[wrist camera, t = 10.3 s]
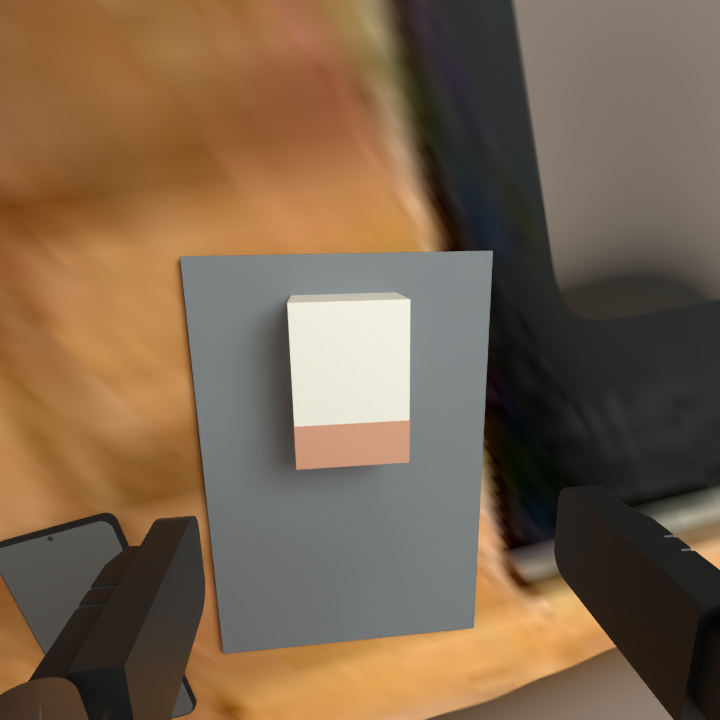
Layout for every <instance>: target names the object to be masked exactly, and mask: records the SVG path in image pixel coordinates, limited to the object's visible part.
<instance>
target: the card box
mask: <svg viewBox="0 0 720 720" xmlns="http://www.w3.org/2000/svg"><path fill="white" fill-rule="evenodd" d="M287 308H288V326H289V344H290V362H291V379H292V397H293V415H294V437H295V455H296V470H301V469H316V468H332V467H347V466H362V465H378V464H393V463H408V462H409V454H410V299H409V298H407V297H405V296H403V295H400V294H398V293H396V292H392V293H357V294H321V295H291V296H290V298H289V300H288V302H287Z"/></svg>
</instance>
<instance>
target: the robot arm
mask: <svg viewBox="0 0 720 720" xmlns="http://www.w3.org/2000/svg"><path fill="white" fill-rule="evenodd" d="M554 552H555V559H556V563H557V567H558V569H559V572H560V574H561V575H562V577H563V579H564V580H565V581H566V583H567V584H568V585H569V586H570V588H571V589H572V590H573V592H574V593H575V594H576V595H577V597H578V598H579V599H580V601H581V602H582V603H583V604H584V606H585V607H586V608H587V609H588V611H589V612H590V613H591V615H592V616H593V617H594V618H595V620H596V621H597V622H598V624H599V625H600V626H601V627H602V629H603V630H604V631H605V632H606V634H607V635H608V636H609V638H610V639H611V640H612V641H613V643H614V644H615V645H616V646H617V648H618V649H619V650H620V652H621V653H622V654H623V655H624V656H625V658H626V659H627V661H628V662H629V663H630V664H631V666H632V667H633V668H634V669H635V671H636V672H637V673H638V675H639V676H640V677H641V678H642V680H643V681H644V682H645V683H646V685H647V686H648V687H649V689H650V690H651V691H652V692H653V694H654V695H655V696H656V697H657V699H658V700H659V701H660V703H661V704H662V705H663V706H664V708H665V709H666V710H667V712H668V713H669V714H670V715H671V717H672V718H673V719H674V720H720V570H719V569H718V568H716V567H715V566H714V565H713V564H711V563H710V562H709V561H707V560H706V559H705V558H703V557H702V556H701V555H700V554H698V553H697V552H696V551H691V549H690V547H689V546H688V545H687V544H685V543H684V542H683V541H681V540H680V539H679V538H677V537H675V538H674V536H673V534H672V533H671V532H670V531H668V530H667V529H666V528H664V527H663V526H662V525H661V524H659V523H658V522H657V521H655V520H654V519H653V518H651V517H649V516H647V515H645V514H643V513H640V512H638V511H636V510H634V509H632V508H630V507H628V506H625V505H624V504H623V503H622V502H620V501H619V500H618V499H617V498H615V497H614V496H613V495H611V494H610V493H609V492H608V491H606V490H605V489H604V488H602V487H601V486H598V485H593V486H580V487H567V488H564V489H562V491H561V492H560V495H559V502H558V513H557V524H556V535H555V546H554ZM204 599H205V577H204V568H203V560H202V551H201V543H200V534H199V526H198V521H197V519H196V517H195V516H187V517H174V518H161V519H156V520H155V522H154V523H153V525H152V526H151V528H150V530H149V532H148V533H147V535H146V537H145V539H144V540H143V542H142V544H141V545H140V546H131V547H126V548H125V549H124V550H123V551H122V552H120V553H119V554H118V555H117V556H115V557H114V558H113V559H112V560H111V561H109V562H108V563H107V564H106V565H105V566H104V567H103V569H102V570H101V572H100V573H99V575H98V576H97V578H96V579H95V581H94V582H93V584H92V585H91V590H90V591H87V593H86V594H85V596H84V598H83V599H82V601H81V602H80V604H79V608H78V609H76V610H75V611H74V613H73V614H72V616H71V617H70V619H69V620H68V622H67V623H66V625H65V626H64V628H63V629H62V631H61V632H60V634H59V636H58V637H57V639H56V640H55V642H54V643H53V645H52V646H51V648H50V649H49V651H48V652H47V654H46V655H45V657H44V658H43V660H42V661H41V663H40V664H39V666H38V667H37V669H36V670H35V672H34V674H33V675H32V677H31V678H30V680H29V681H28V682H26V683H23V684H21V685H18V686H16V687H14V688H12V689H10V690H8V691H6V692H4V693H3V694H1V695H0V720H171V716H172V713H173V710H174V706H175V703H176V700H177V696H178V693H179V690H180V686H181V683H182V679H183V676H184V673H185V669H186V666H187V663H188V659H189V656H190V653H191V649H192V646H193V643H194V639H195V636H196V633H197V629H198V626H199V622H200V619H201V616H202V612H203V607H204Z"/></svg>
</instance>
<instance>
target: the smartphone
mask: <svg viewBox="0 0 720 720" xmlns="http://www.w3.org/2000/svg"><path fill="white" fill-rule="evenodd" d="M71 532H72V533H71ZM126 547H129V545H128V543H127V541H126V539H125V536H124V534H123V532H122V529H121V527H120V525H119V523H118V520H117V518H116V517H115V516H114V515H112V514H110V513H102V514H98V515H94V516H91V517H87V518H83V519H80V520H76V521H72V522H68V523H65V524H61V525H57V526H54V527H50V528H47V529H43V530H40V531H36V532H33V533H29V534H25V535H22V536H18V537H15V538H11V539H8V540H4V541H1V542H0V574H1V576H2V577H3V579H4V581H5V583H6V585H7V587H8V588H9V590H10V592H11V594H12V596H13V597H14V599H15V601H16V603H17V605H18V607H19V608H20V610H21V612H22V614H23V616H24V618H25V619H26V621H27V623H28V625H29V627H30V628H31V630H32V632H33V634H34V636H35V638H36V639H37V641H38V643H39V645H40V647H41V649H42V650H43V652H44V654H45V655H46V654H47V652H48V651H49V649H50V648H51V646H52V645H53V643H54V642H55V640H56V639H57V637H58V636H59V634H60V632H61V631H62V629H63V628H64V626H65V625H66V623H67V622H68V620H69V619H70V617H71V616H72V614H73V613H74V611H75V610H76V609H78V608H79V604H80V602H81V601H82V599H83V598H84V596H85V594H86V593H87V591H90V590H91V585H92V584H93V582H94V581H95V579H96V578H97V576H98V575H99V573H100V572H101V570H102V569H103V567H104V566H105V565H106V564H107V563H108V562H109V561H111V560H112V559H113V558H114V557H115V556H117V555H118V554H119V553H120V552H122V551H123V550H124V549H125V548H126ZM195 706H196V699H195V697H194V694H193V692H192V690H191V687H190V685H189V683H188V681H187V678H186V676H185V674H184V676H183V679H182V683H181V686H180V690H179V693H178V696H177V700H176V703H175V706H174V710H173V713H172V716H171V719H173V718H177V717H180V716H184V715H187V714H190V713H191V712H192V711H193V710H194V708H195Z"/></svg>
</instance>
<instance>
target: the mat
mask: <svg viewBox="0 0 720 720" xmlns="http://www.w3.org/2000/svg"><path fill="white" fill-rule="evenodd" d="M492 258H493V251H457V252H402V253H348V254H293V255H239V256H184V257H180V261H181V270H182V279H183V288H184V297H185V306H186V316H187V325H188V334H189V343H190V352H191V362H192V371H193V380H194V389H195V398H196V407H197V417H198V426H199V435H200V444H201V453H202V463H203V472H204V481H205V490H206V499H207V508H208V518H209V527H210V536H211V545H212V554H213V564H214V573H215V582H216V591H217V600H218V609H219V619H220V628H221V637H222V646H223V654H226V653H236V652H246V651H256V650H265V649H275V648H285V647H294V646H304V645H314V644H324V643H333V642H343V641H353V640H363V639H372V638H382V637H392V636H402V635H411V634H421V633H431V632H441V631H450V630H460V629H470V628H474V611H475V591H476V572H477V552H478V532H479V513H480V493H481V474H482V454H483V434H484V415H485V395H486V375H487V356H488V336H489V317H490V297H491V277H492ZM392 292H396V293H398V294H400V295H403V296H405V297H407V298H409V299H410V454H409V462H408V463H393V464H378V465H362V466H347V467H332V468H316V469H301V470H296V455H295V437H294V415H293V397H292V379H291V362H290V344H289V326H288V308H287V302H288V300H289V298H290V296H291V295H321V294H357V293H392Z"/></svg>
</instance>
